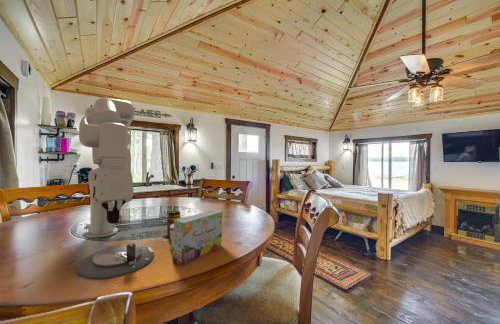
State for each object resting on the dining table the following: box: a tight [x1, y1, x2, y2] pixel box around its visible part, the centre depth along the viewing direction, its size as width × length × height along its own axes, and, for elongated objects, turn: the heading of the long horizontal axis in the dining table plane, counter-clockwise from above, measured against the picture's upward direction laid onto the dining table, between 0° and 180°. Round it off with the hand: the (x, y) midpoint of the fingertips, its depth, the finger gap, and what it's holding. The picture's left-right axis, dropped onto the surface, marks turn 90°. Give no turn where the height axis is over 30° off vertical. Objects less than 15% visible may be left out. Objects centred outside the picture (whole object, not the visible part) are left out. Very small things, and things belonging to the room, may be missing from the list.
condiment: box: [160, 210, 182, 242], centre depth 101 cm, size 7×8×12 cm
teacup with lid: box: [169, 224, 174, 251], centre depth 89 cm, size 12×9×12 cm
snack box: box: [172, 209, 223, 266], centre depth 84 cm, size 21×6×15 cm, turn 148°
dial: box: [93, 243, 142, 268], centre depth 76 cm, size 18×15×6 cm
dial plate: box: [76, 244, 155, 279], centre depth 77 cm, size 23×23×1 cm
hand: (113, 222), depth 67 cm, fingers closed
